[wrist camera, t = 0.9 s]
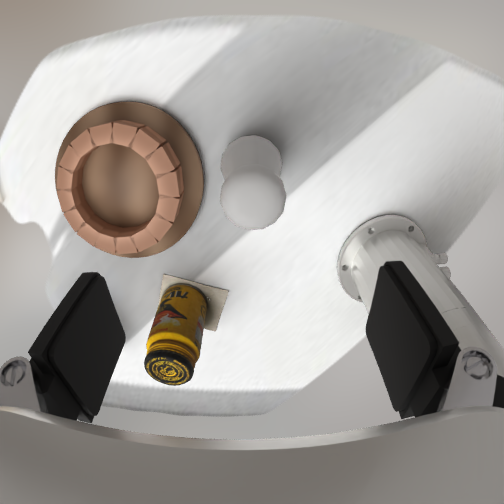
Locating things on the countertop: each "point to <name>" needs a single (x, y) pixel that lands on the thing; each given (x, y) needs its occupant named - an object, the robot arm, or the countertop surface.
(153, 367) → the condiment
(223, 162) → the salt shaker
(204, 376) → the countertop surface
